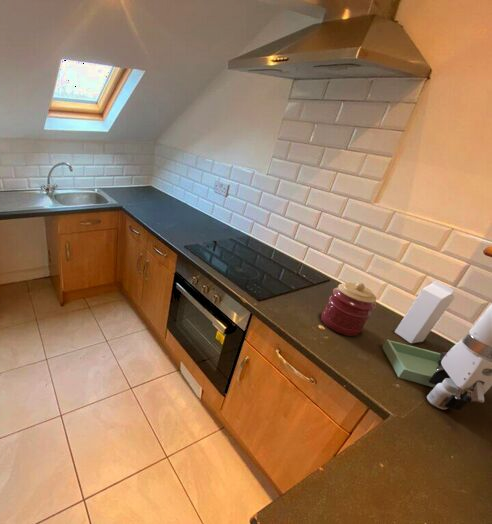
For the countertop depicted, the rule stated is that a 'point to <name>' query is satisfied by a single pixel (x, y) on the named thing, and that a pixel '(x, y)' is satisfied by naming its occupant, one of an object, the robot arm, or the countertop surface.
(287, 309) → the countertop surface
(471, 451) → the countertop surface
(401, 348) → the tray
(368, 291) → the kitchen canister
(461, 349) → the robot arm
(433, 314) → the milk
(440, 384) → the pill bottle
